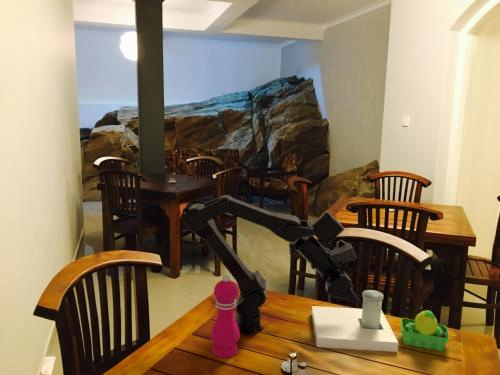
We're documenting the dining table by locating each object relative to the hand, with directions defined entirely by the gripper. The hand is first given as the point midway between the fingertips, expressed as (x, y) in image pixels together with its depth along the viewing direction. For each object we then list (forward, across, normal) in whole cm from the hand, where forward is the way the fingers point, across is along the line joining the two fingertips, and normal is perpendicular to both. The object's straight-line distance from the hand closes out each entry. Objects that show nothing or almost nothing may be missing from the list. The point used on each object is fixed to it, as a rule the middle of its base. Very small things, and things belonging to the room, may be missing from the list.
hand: (355, 295), depth 115 cm
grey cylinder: (+10, 0, +4) cm, 11 cm away
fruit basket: (+20, -4, -4) cm, 21 cm away
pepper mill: (-16, -12, +32) cm, 37 cm away
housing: (+8, 0, +8) cm, 11 cm away
